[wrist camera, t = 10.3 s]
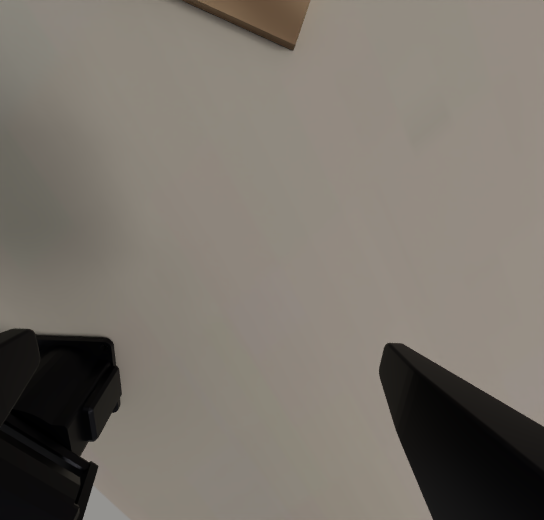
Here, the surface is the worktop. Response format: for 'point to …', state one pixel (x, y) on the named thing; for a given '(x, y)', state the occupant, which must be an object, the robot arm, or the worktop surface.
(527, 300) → the worktop surface
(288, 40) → the socket board
